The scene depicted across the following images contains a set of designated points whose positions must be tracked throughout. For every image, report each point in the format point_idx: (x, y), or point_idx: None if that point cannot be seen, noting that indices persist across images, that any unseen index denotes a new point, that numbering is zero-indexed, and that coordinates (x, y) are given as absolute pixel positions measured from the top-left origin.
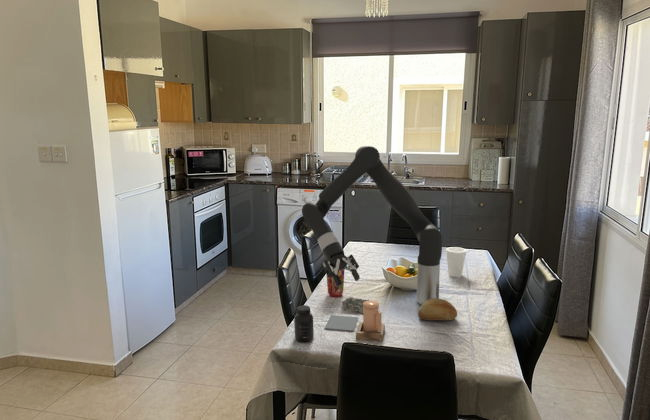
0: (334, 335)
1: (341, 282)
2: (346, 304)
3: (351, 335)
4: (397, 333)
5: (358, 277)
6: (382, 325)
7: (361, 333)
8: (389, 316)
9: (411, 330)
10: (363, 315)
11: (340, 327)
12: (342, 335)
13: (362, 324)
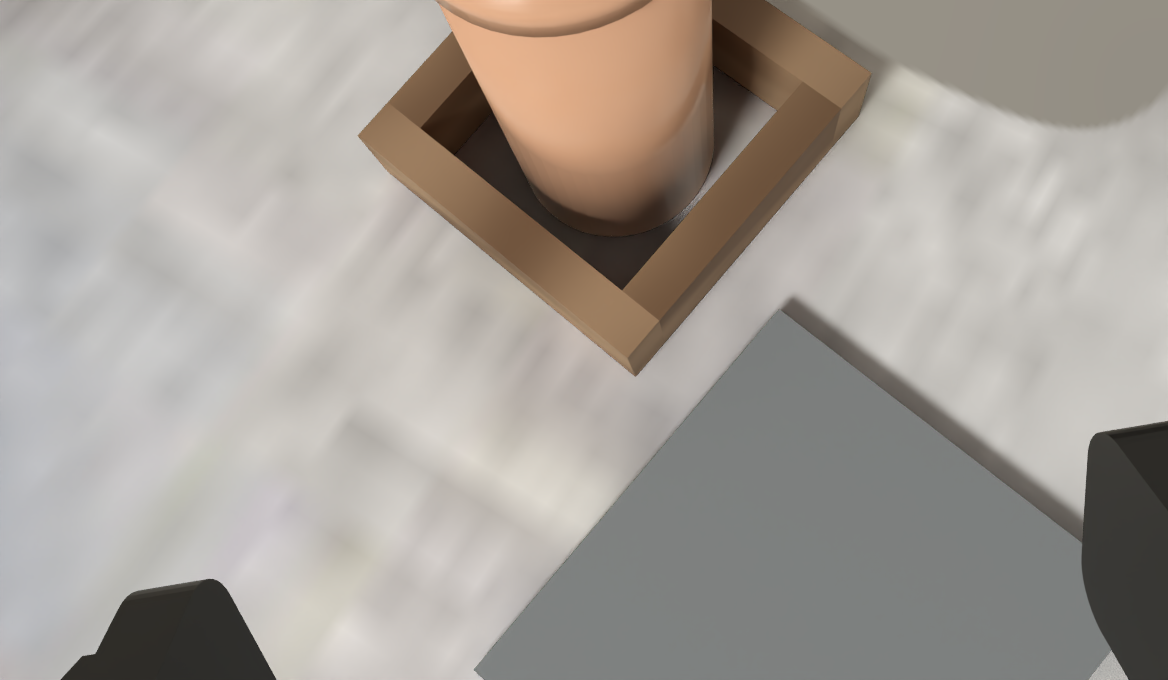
0: (1083, 342)
1: (1157, 428)
2: None
3: (859, 233)
4: (322, 28)
5: (162, 602)
6: (422, 101)
7: (807, 33)
8: (77, 483)
9: (139, 22)
10: (701, 36)
11: (906, 486)
12: (975, 290)
13: (627, 290)
